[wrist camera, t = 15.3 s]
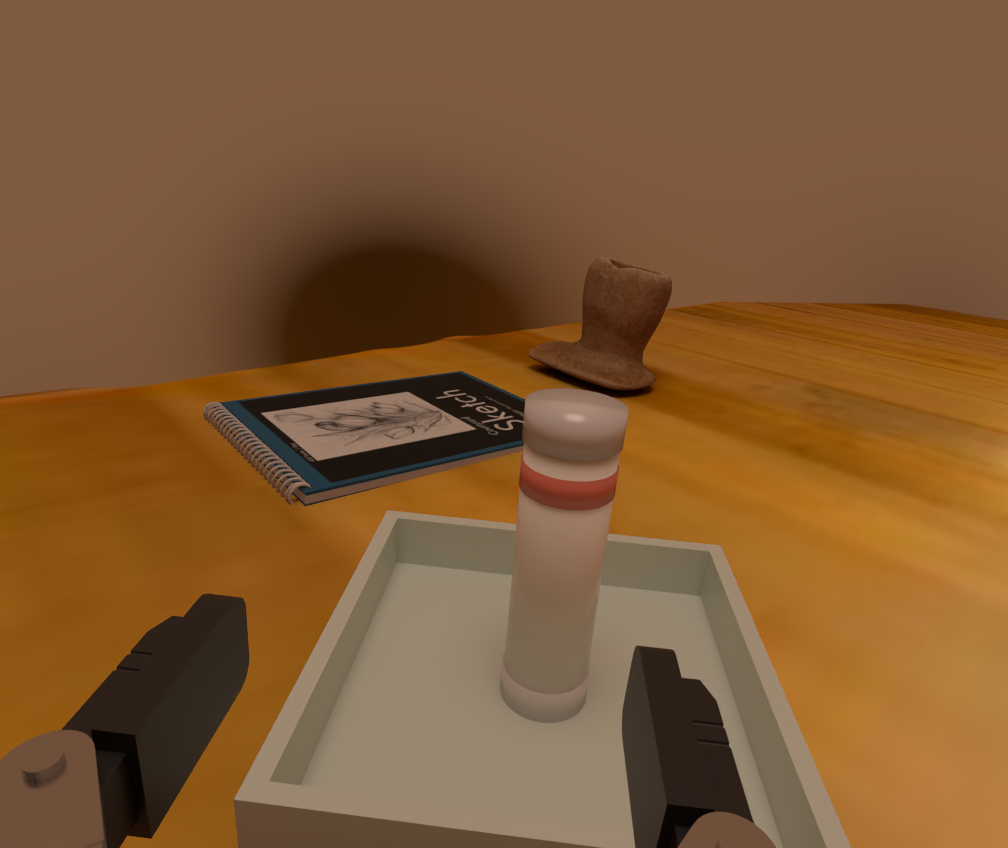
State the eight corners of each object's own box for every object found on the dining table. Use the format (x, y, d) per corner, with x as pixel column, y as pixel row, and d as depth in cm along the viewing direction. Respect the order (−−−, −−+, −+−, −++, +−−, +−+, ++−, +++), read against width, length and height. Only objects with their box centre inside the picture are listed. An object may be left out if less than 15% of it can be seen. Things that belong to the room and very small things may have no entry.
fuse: (482, 682, 31) (504, 397, 26) (544, 648, 33) (575, 383, 28) (540, 737, 28) (577, 430, 23) (604, 696, 30) (649, 411, 25)
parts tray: (242, 886, 22) (234, 799, 21) (386, 567, 41) (387, 510, 39) (833, 967, 21) (866, 882, 20) (708, 603, 40) (720, 545, 38)
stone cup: (676, 389, 82) (697, 266, 76) (611, 403, 75) (629, 268, 69) (589, 358, 93) (602, 249, 87) (524, 368, 85) (534, 249, 80)
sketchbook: (587, 441, 65) (590, 421, 64) (292, 517, 47) (291, 491, 46) (461, 380, 80) (462, 363, 80) (201, 420, 62) (199, 399, 61)
